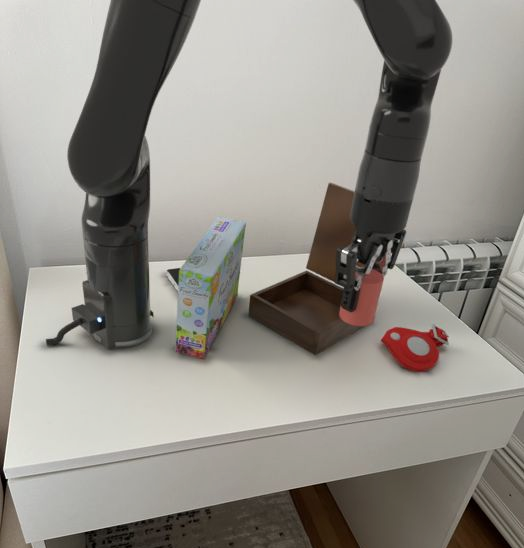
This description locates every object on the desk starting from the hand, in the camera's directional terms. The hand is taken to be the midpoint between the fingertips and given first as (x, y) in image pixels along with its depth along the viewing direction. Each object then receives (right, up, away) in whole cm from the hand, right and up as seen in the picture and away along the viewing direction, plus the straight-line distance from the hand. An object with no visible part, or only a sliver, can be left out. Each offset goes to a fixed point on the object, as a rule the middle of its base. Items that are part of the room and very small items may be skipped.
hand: (359, 302), depth 78 cm
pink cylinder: (0, -2, +1) cm, 2 cm away
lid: (+1, +12, +16) cm, 20 cm away
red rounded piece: (+12, -8, +12) cm, 19 cm away
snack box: (-23, -2, +14) cm, 27 cm away
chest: (-6, -1, +18) cm, 19 cm away
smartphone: (-26, +4, +23) cm, 35 cm away
